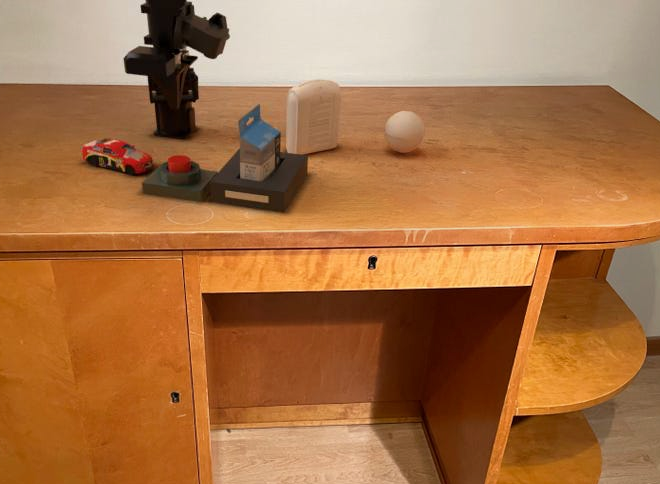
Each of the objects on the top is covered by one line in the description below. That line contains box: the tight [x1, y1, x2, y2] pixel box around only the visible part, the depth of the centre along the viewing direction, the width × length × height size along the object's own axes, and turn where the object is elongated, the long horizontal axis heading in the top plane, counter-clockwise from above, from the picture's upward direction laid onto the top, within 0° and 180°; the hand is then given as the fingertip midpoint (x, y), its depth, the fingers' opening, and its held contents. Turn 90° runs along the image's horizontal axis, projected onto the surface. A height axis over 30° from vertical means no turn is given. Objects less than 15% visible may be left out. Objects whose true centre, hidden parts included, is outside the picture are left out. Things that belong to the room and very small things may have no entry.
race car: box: [81, 138, 154, 177], centre depth 121 cm, size 13×5×4 cm, turn 63°
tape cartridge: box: [237, 103, 282, 183], centre depth 113 cm, size 9×4×12 cm, turn 161°
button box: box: [141, 160, 219, 203], centre depth 115 cm, size 10×8×4 cm
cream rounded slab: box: [285, 78, 342, 155], centre depth 127 cm, size 10×4×12 cm, turn 123°
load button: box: [167, 154, 192, 173], centre depth 113 cm, size 4×4×2 cm
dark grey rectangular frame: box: [210, 147, 309, 213], centre depth 115 cm, size 12×15×4 cm
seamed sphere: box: [375, 110, 425, 154], centre depth 129 cm, size 10×7×7 cm
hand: (175, 108), depth 108 cm, fingers closed
